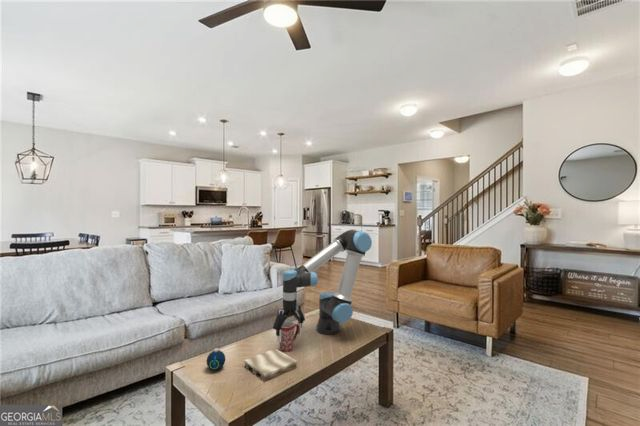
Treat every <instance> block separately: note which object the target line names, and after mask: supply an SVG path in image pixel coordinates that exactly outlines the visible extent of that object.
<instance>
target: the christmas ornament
mask: <svg viewBox="0 0 640 426" xmlns="http://www.w3.org/2000/svg"><path fill="white" fill-rule="evenodd" d="M225 363H226V354H225V353H224V352H223V351H222V350H219V348H218V347H217V348H216V347H215V348H214V349H213V351H211V352H209V354H208V355H207V357H206V366H207V367H208V368H209V369H210V370H213V371H217V370H219V369H222V367H223V366H224V365H225Z"/></svg>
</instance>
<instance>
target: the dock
mask: <svg viewBox="0 0 640 426" xmlns="http://www.w3.org/2000/svg"><path fill="white" fill-rule="evenodd" d="M297 364H298V360H296V359H294V358H293V357H291V356H289V355H287V354H285V353H284V352H283V351H281V350H280V349H277V348H273V349H270V350H268V351H265V352H262V353H260V354H257V355H253V356H251V357H249V358H246V359H244V367H245V368H246V369H248V370H249V369H252V373H253V374H254V375H255V376H257V375H260V379H261V380H262V381H263V382H266V381H268V380H270V379H273V378H276V377H278V376H280V375H282V374H284V373H286V372H289V371H290V370H293V369H295V368H297Z"/></svg>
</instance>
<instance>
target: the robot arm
mask: <svg viewBox="0 0 640 426" xmlns="http://www.w3.org/2000/svg"><path fill="white" fill-rule="evenodd" d="M332 241H333V242H331V243H330V244H329V245H327V246H326V247H324V248H323V249H322V250H320V251H319V252H318V253H316V254H315V255H313V256H312V257H311V258H310V259H307V261H306V262H304V263H303V264H301V265H300V266H299V267H294V268H292V269H287V270H284V271H283V274H282V307H283V308H282V309H278V310H277V315H276V319H274V323H273V326H272V329H273V330H275V332H276V333H275V334H276V335H275V336H276V340H277V342H278V343H279V342H281V329H280V328H281V327H282V325H283V323H284V322H285V321H287V319H288V318H290V317H294V318H295V320H296V321H297V322H296V324H297V325H298V326H299V331H298V334H297V336H298V335H299V336H302V328H303V324H304V322H305V321H306V318H305V316H304V314H303V311H302V307H301V305H298V304H297V303H298V302H297V294H298V293H297V292H298V290H297V289H298V288H306V287H315V286H317V285H318V281H319V278H318V275H317V272H315V271H317V270H318V269H319V268H321V267H322V266H324V264H326V263H328V261H330V260H331V259H333V258H334V257H335V256H336V255H338V254H340V253H341V252H342V253H343V252H345V251H346V253H347V254H346V258H345V261H344V265H343V269H342V271H341V275H340V279H339V283H338V285H337V286H338V287H337V289H336V292H322V293H320V294H319V296H318V297H319V299H318V303H319V304H318V305H319V307H318V309H319V312H318V314H319V315H318V316H319V318H318V320H317V324H316V327H315V328H316V332H317V333H320V334H322V335H336V334H338V333H340V332H341V330H342V328H341V324H342V323H346V322H348V321H349V320H351V318H352V316H353V313H354V309H353V308H352V302H353V299H352V297H351V296H352V294H353V293H352V292H353V290H354V286H355V282H356V278H357V275H358V271H359V267H360V264H361V261H362V258H363V257H365V256H366V252H368V251H370V249H371V248H372V244H373V243H372V242H373V241H372V237H371V236H370V234H369V233H368V232H365V231H363V230H354V229H349V230H346V231H344V232H343V233H341V234H339V235H338V236H337V237H335V238H334V239H333V240H332Z"/></svg>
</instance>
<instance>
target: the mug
mask: <svg viewBox="0 0 640 426" xmlns="http://www.w3.org/2000/svg"><path fill="white" fill-rule="evenodd" d="M295 327H296V329H295ZM280 329H281V342H278V343H279V344H278V345H279V351H281V352H283V353H284V352H285V353H286V352H290V351H292V350H293V349H294V342H295V340H296V338H297V336H298V331H299V326H298V325H297V323H295V322H293V321H290V320H285V322H284V323H283V325H282V327H281V328H280Z"/></svg>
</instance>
